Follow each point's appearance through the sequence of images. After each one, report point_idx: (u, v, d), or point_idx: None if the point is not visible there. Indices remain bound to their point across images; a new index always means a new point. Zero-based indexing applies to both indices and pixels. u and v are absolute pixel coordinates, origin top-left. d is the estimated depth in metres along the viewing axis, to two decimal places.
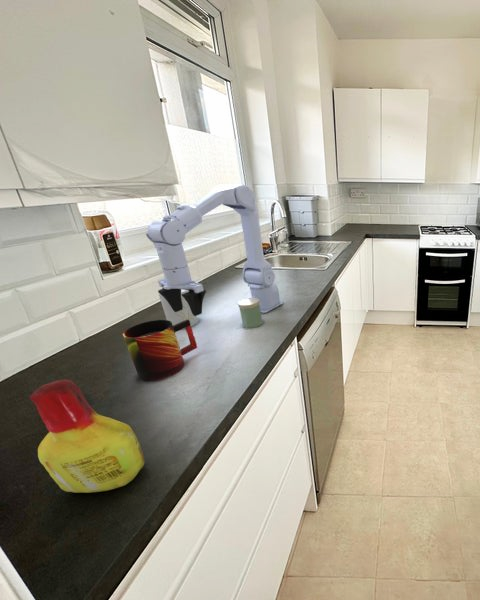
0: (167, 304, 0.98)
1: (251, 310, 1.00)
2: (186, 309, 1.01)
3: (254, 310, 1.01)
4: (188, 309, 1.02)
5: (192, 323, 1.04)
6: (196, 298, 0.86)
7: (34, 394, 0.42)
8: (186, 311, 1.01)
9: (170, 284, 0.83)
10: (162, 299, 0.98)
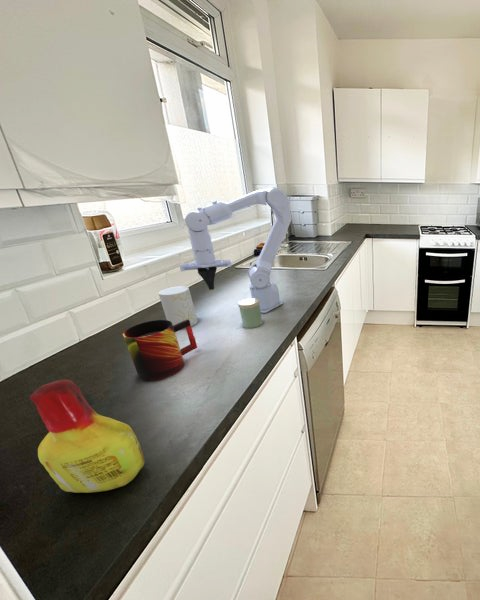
0: (167, 304, 0.98)
1: (251, 310, 1.00)
2: (186, 309, 1.01)
3: (254, 310, 1.01)
4: (188, 309, 1.02)
5: (192, 323, 1.04)
6: None
7: (34, 394, 0.42)
8: (186, 311, 1.01)
9: (206, 263, 1.01)
10: (162, 299, 0.98)
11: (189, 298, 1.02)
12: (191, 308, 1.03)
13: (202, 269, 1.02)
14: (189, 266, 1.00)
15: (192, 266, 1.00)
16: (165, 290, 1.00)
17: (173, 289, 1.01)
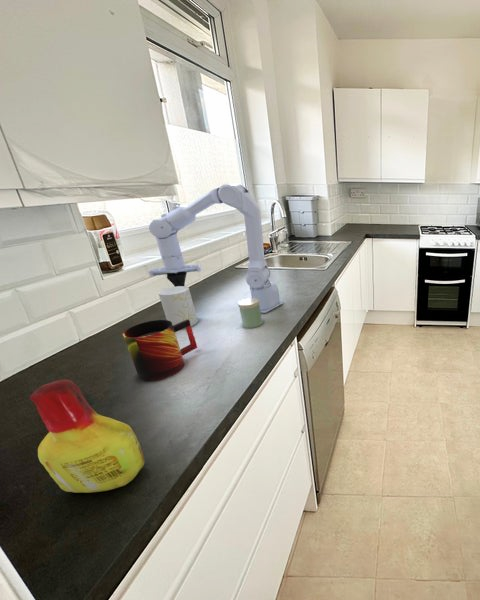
0: (167, 304, 0.98)
1: (251, 310, 1.00)
2: (186, 309, 1.01)
3: (254, 310, 1.01)
4: (188, 309, 1.02)
5: (192, 323, 1.04)
6: None
7: (34, 394, 0.42)
8: (186, 311, 1.01)
9: (175, 268, 1.04)
10: (162, 299, 0.98)
11: (189, 298, 1.02)
12: (191, 308, 1.03)
13: (171, 274, 1.06)
14: (158, 271, 1.03)
15: (161, 271, 1.04)
16: (165, 290, 1.00)
17: (173, 289, 1.01)
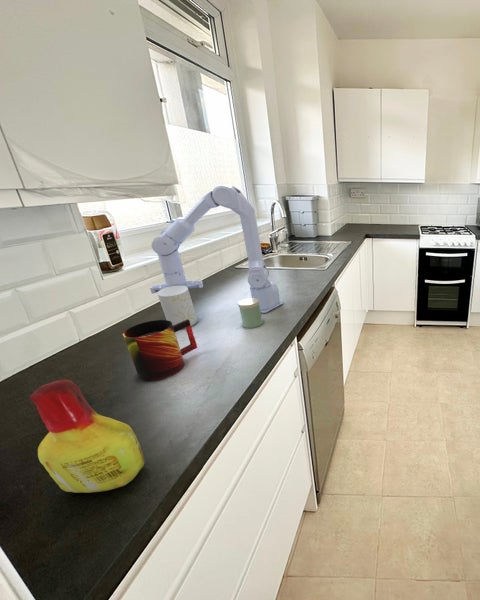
0: (166, 305, 0.97)
1: (251, 310, 1.00)
2: (186, 310, 1.01)
3: (254, 310, 1.01)
4: (188, 309, 1.01)
5: (192, 323, 1.03)
6: None
7: (34, 394, 0.42)
8: (185, 312, 1.01)
9: (176, 285, 1.03)
10: (161, 300, 0.97)
11: (188, 298, 1.01)
12: (191, 308, 1.02)
13: None
14: (159, 288, 1.02)
15: (162, 288, 1.02)
16: (164, 290, 0.99)
17: (172, 289, 1.00)
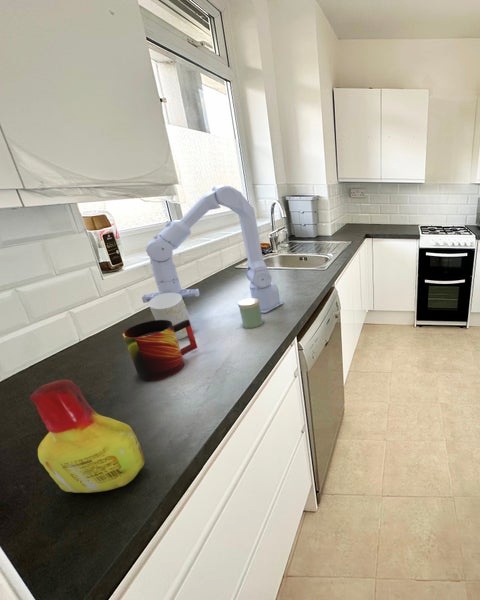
0: (159, 317, 0.89)
1: (251, 310, 1.00)
2: (181, 321, 0.93)
3: (254, 310, 1.01)
4: (183, 320, 0.94)
5: None
6: None
7: (34, 394, 0.42)
8: None
9: None
10: (153, 312, 0.89)
11: (183, 309, 0.93)
12: (186, 318, 0.95)
13: None
14: (152, 297, 0.94)
15: None
16: (156, 299, 0.91)
17: (164, 297, 0.92)
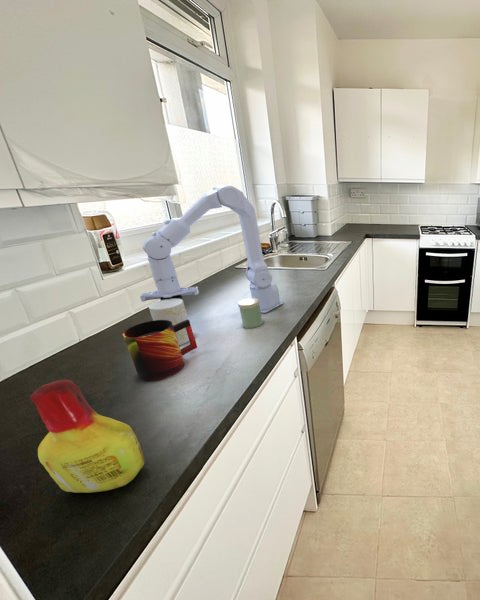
0: (158, 319, 0.88)
1: (251, 310, 1.00)
2: None
3: (254, 310, 1.01)
4: None
5: (186, 340, 0.93)
6: None
7: (34, 394, 0.42)
8: None
9: (169, 292, 0.93)
10: (152, 314, 0.87)
11: (183, 312, 0.92)
12: None
13: (165, 298, 0.95)
14: (150, 296, 0.93)
15: (154, 296, 0.93)
16: (157, 303, 0.90)
17: (165, 302, 0.91)
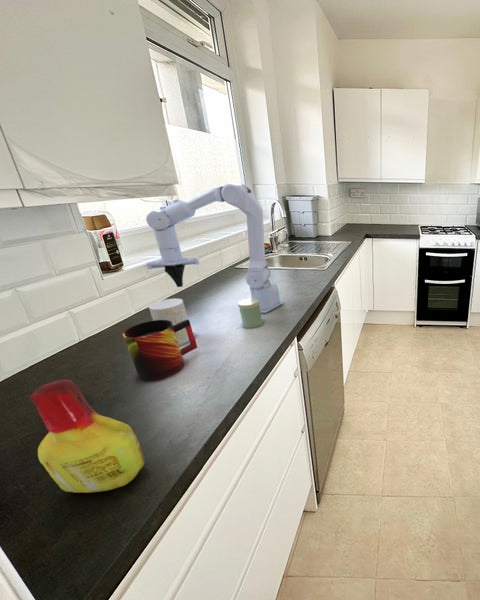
0: (158, 319, 0.88)
1: (251, 310, 1.00)
2: None
3: (254, 310, 1.01)
4: None
5: (186, 340, 0.93)
6: None
7: (34, 394, 0.42)
8: None
9: (172, 261, 1.03)
10: (152, 314, 0.87)
11: (183, 312, 0.92)
12: None
13: (169, 267, 1.05)
14: (156, 264, 1.02)
15: (158, 264, 1.03)
16: (157, 303, 0.90)
17: (165, 302, 0.91)
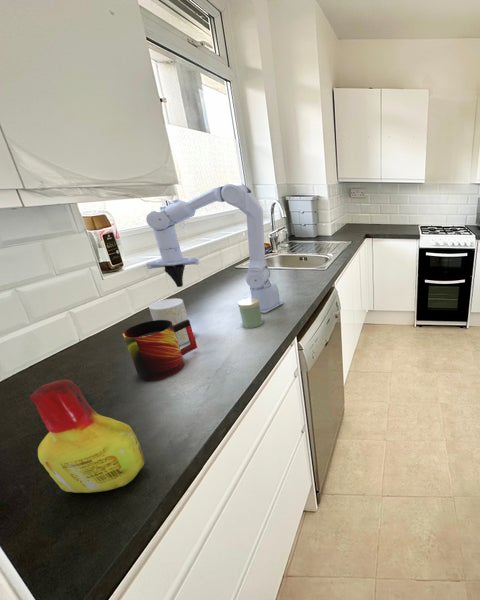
0: (158, 319, 0.88)
1: (251, 310, 1.00)
2: None
3: (254, 310, 1.01)
4: None
5: (186, 340, 0.93)
6: None
7: (34, 394, 0.42)
8: None
9: (172, 261, 1.03)
10: (152, 314, 0.87)
11: (183, 312, 0.92)
12: None
13: (169, 267, 1.05)
14: (156, 264, 1.02)
15: (158, 264, 1.03)
16: (157, 303, 0.90)
17: (165, 302, 0.91)
